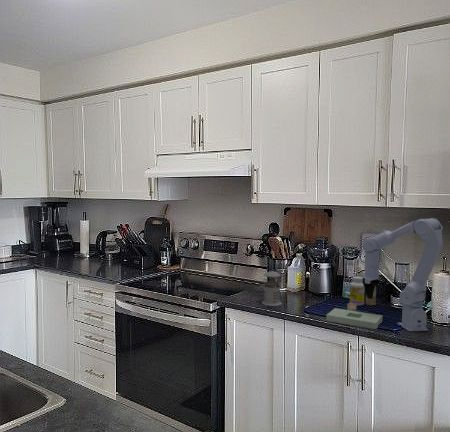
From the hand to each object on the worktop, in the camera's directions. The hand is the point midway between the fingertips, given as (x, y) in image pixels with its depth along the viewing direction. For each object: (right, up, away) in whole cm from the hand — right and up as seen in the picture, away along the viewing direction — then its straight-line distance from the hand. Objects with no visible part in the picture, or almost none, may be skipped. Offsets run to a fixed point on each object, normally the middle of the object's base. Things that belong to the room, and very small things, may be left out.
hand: (370, 297), depth 185 cm
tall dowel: (0, -3, 0) cm, 3 cm away
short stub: (-7, -8, +5) cm, 12 cm away
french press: (-40, -7, +21) cm, 46 cm away
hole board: (-9, -9, -7) cm, 14 cm away
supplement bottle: (0, -7, +20) cm, 22 cm away
